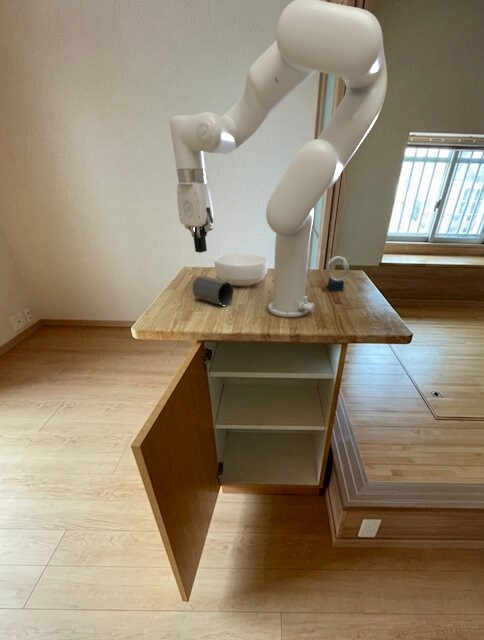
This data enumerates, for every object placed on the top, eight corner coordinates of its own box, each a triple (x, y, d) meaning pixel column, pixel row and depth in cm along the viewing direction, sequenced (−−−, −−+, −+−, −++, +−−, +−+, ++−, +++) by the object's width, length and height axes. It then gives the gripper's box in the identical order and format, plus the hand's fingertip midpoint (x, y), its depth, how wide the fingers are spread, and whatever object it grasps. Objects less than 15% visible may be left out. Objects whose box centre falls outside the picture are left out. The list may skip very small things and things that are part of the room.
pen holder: (209, 295, 107) (234, 302, 102) (193, 301, 102) (218, 309, 97) (207, 273, 103) (233, 279, 97) (190, 278, 98) (216, 285, 93)
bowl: (244, 294, 108) (243, 269, 103) (205, 283, 118) (202, 259, 113) (277, 281, 121) (278, 258, 116) (239, 272, 130) (238, 250, 125)
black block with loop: (347, 291, 113) (353, 258, 106) (326, 291, 113) (330, 258, 106) (344, 286, 118) (349, 254, 111) (323, 286, 117) (326, 254, 111)
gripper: (163, 177, 85) (175, 250, 96) (200, 178, 78) (209, 257, 89) (184, 177, 90) (194, 246, 101) (221, 177, 83) (227, 252, 93)
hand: (201, 251), depth 95 cm, fingers closed
